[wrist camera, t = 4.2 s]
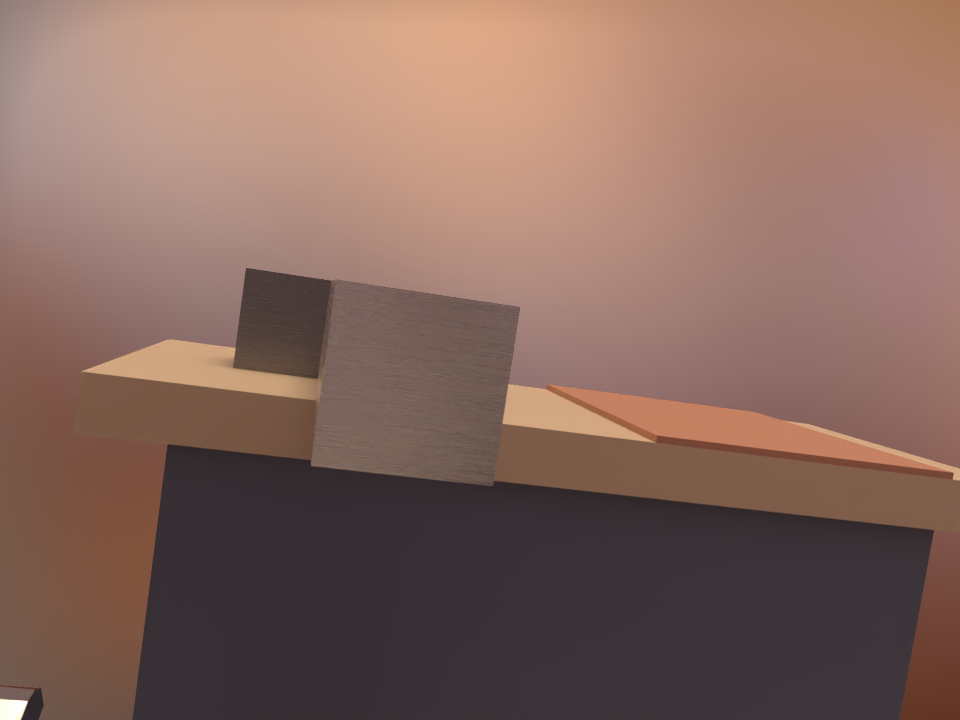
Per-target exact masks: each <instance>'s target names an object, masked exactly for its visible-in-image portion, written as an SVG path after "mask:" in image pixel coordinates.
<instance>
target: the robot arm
mask: <svg viewBox="0 0 960 720" xmlns="http://www.w3.org/2000/svg"><path fill="white" fill-rule="evenodd" d="M43 706H44V705H43V699H42V692H41V688H33V687H19V686H18V687H17V686H5V685H0V720H38V719H39V716H40V714H41V711H42V708H43Z"/></svg>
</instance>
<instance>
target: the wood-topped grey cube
mask: <svg viewBox="0 0 960 720" xmlns="http://www.w3.org/2000/svg"><path fill="white" fill-rule="evenodd" d="M235 349H236V348H231V347H223V346H216V345H208V344H201V343H193V342H185V341H178V340H170V339H168V340H166V341H163V342H160V343H158V344H155V345H152V346H150V347H147V348H144V349H141V350H139V351H136V352H133V353H130V354H128V355H125V356H122V357H120V358H117V359H114V360H112V361H109V362H106V363H103V364H101V365H98V366H95V367H92V368H90V369H87V370H85V371H82V373H81V382H80V390H79V398H78V407H77V415H76V423H75V432H74V434H82V435H91V436H101V437H110V438H118V439H127V440H135V441H144V442H153V443H163V444H168V447H167V454H166V462H165V471H164V477H163V485H162V493H161V502H160V509H159V517H158V524H157V532H156V540H155V549H154V556H153V565H152V571H151V579H150V587H149V596H148V603H147V611H146V619H145V627H144V634H143V642H142V651H141V658H140V666H139V674H138V681H137V689H136V697H135V705H134V713H133V720H899V719H900V713H901V708H902V703H903V697H904V692H905V686H906V680H907V675H908V670H909V664H910V659H911V653H912V647H913V643H914V637H915V632H916V626H917V620H918V615H919V610H920V604H921V599H922V593H923V588H924V582H925V577H926V571H927V566H928V560H929V555H930V549H931V544H932V538H933V533H934V530H939V531H948V532H957V533H960V469H958V468H955V467H952V466H948V465H945V464H942V463H938V462H935V461H932V460H928V459H925V458H921V457H918V456H915V455H911V454H908V453H904V452H901V451H897V450H894V449H891V448H887V447H884V446H881V445H877V444H874V443H870V442H867V441H864V440H860V439H857V438H853V437H850V436H846V435H843V434H840V433H836V432H833V431H830V430H826V429H823V428H819V427H816V426H812V425H809V424H803V423H795V422H788V421H782V420H779V419H775V418H772V417H769V416H765V415H762V414H759V413H755V412H749V411H742V410H734V409H726V408H720V407H712V406H704V405H697V404H689V403H682V402H675V401H667V400H660V399H652V398H645V397H637V396H630V395H622V394H615V393H607V392H599V391H592V390H585V389H577V388H570V387H562V386H555V385H548V384H547V388H546V389H539V388H532V387H524V386H516V385H509V384H508V390H507V397H506V404H505V410H504V417H503V424H502V430H501V437H500V443H499V450H498V457H497V463H496V470H495V477H494V483H493V486H486V485H477V484H468V483H459V482H450V481H441V480H432V479H423V478H414V477H405V476H396V475H387V474H378V473H369V472H360V471H351V470H342V469H333V468H323V467H314V466H311V455H312V442H313V429H314V417H315V404H316V391H317V379H314V378H306V377H299V376H291V375H283V374H275V373H268V372H260V371H252V370H244V369H236V368H233V364H234V356H235Z"/></svg>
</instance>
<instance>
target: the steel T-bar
mask: <svg viewBox="0 0 960 720" xmlns="http://www.w3.org/2000/svg"><path fill="white" fill-rule="evenodd" d="M519 311H520V307H516V306H509V305H502V304H495V303H489V302H482V301H476V300H468V299H462V298H456V297H449V296H442V295H435V294H429V293H422V292H415V291H408V290H401V289H395V288H389V287H382V286H375V285H368V284H361V283H355V282H348V281H342V280H332V281H329V280H323V279H315V278H309V277H303V276H296V275H289V274H283V273H276V272H269V271H262V270H256V269H248V268H246V273H245V280H244V289H243V296H242V303H241V311H240V318H239V326H238V334H237V341H236V349H235V356H234V364H233V368H236V369H244V370H252V371H260V372H268V373H275V374H283V375H291V376H299V377H306V378H314V379H317V391H316V404H315V417H314V429H313V442H312V455H311V466H314V467H323V468H333V469H342V470H351V471H360V472H369V473H378V474H387V475H396V476H405V477H414V478H423V479H432V480H441V481H450V482H459V483H468V484H477V485H486V486H493V483H494V477H495V470H496V463H497V457H498V450H499V443H500V437H501V430H502V424H503V417H504V410H505V404H506V397H507V390H508V384H509V377H510V370H511V364H512V357H513V351H514V344H515V337H516V331H517V324H518V317H519Z"/></svg>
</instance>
